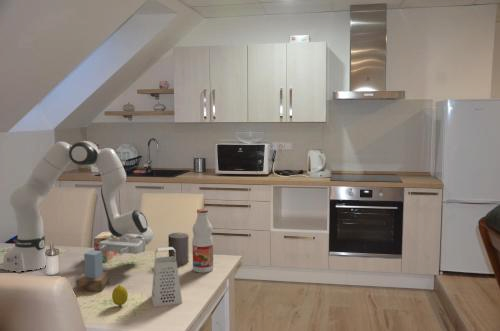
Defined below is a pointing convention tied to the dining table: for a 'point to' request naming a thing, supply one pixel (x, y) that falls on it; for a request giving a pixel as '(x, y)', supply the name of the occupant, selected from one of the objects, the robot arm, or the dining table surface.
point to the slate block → (93, 264)
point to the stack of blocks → (101, 237)
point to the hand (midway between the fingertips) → (110, 251)
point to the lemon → (119, 295)
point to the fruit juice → (202, 243)
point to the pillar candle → (179, 247)
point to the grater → (165, 280)
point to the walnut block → (92, 283)
